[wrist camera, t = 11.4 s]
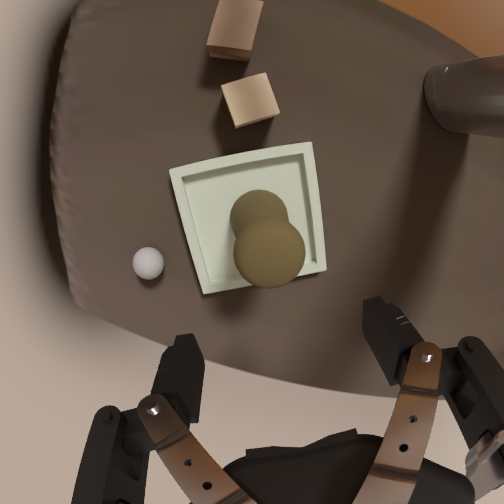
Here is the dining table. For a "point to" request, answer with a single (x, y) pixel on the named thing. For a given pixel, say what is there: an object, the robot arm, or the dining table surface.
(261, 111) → the maple block
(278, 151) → the tray
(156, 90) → the dining table surface
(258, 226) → the cork
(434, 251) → the dining table surface
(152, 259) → the grey ball
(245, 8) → the walnut block
